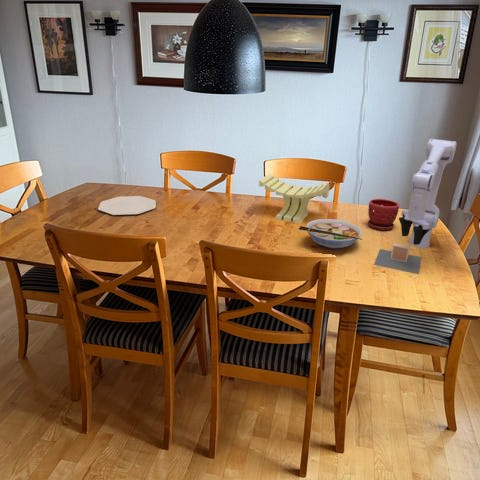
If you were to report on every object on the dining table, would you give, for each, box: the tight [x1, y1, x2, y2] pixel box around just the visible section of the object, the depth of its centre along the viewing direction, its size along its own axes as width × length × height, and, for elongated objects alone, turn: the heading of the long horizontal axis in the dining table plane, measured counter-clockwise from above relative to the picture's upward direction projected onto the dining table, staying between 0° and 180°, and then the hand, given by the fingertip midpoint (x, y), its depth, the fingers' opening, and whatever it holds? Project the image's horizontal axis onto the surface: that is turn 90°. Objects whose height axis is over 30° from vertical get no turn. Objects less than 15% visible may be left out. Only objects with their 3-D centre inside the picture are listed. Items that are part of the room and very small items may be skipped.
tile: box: [390, 243, 411, 262], centre depth 163 cm, size 2×6×6 cm, turn 65°
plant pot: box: [367, 198, 400, 231], centre depth 196 cm, size 13×13×12 cm
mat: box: [373, 248, 423, 275], centre depth 164 cm, size 16×16×1 cm
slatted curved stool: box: [258, 173, 330, 224], centre depth 204 cm, size 30×16×18 cm, turn 66°
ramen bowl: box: [298, 218, 363, 249], centre depth 176 cm, size 25×23×8 cm
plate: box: [97, 195, 157, 216], centre depth 213 cm, size 28×28×2 cm
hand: (410, 239), depth 159 cm, fingers open, 7 cm apart
